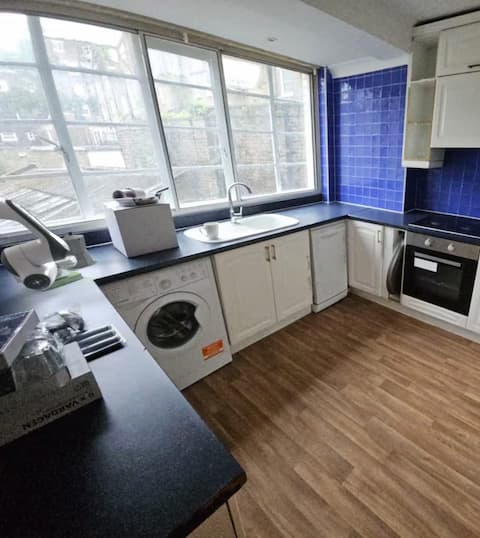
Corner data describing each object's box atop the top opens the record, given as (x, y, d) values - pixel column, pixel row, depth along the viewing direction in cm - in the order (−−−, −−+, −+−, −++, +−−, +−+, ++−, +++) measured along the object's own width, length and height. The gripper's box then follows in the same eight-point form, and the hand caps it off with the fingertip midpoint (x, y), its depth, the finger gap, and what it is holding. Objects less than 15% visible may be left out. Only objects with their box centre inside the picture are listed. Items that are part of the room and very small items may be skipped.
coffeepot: (101, 262, 157) (87, 230, 150) (80, 269, 150) (65, 235, 142) (85, 259, 163) (71, 228, 156) (64, 265, 155) (48, 233, 148)
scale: (44, 290, 128) (41, 284, 127) (29, 285, 133) (26, 279, 132) (82, 277, 139) (80, 272, 138) (67, 273, 145) (64, 268, 144)
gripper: (72, 256, 128) (74, 249, 138) (4, 270, 116) (11, 260, 126) (78, 270, 130) (80, 261, 140) (12, 284, 119) (19, 274, 129)
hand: (47, 261), depth 133 cm, fingers closed on can, 7 cm apart
